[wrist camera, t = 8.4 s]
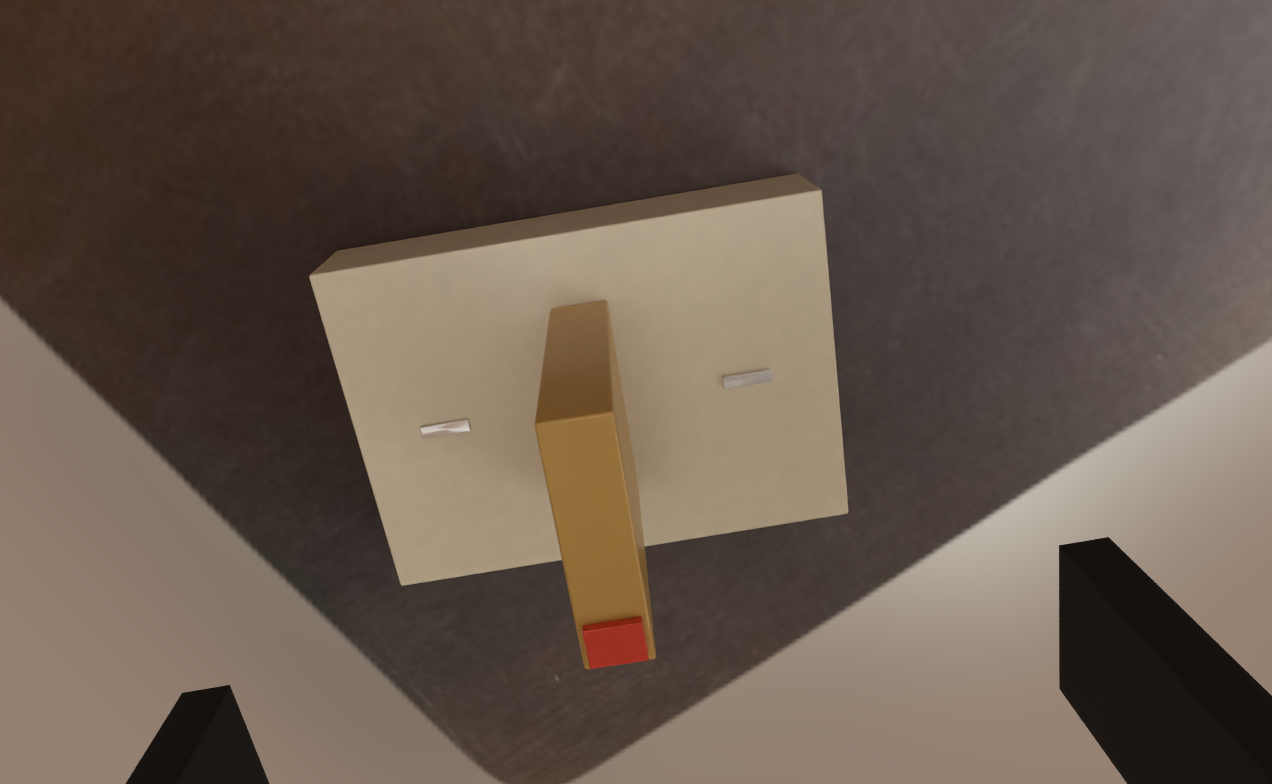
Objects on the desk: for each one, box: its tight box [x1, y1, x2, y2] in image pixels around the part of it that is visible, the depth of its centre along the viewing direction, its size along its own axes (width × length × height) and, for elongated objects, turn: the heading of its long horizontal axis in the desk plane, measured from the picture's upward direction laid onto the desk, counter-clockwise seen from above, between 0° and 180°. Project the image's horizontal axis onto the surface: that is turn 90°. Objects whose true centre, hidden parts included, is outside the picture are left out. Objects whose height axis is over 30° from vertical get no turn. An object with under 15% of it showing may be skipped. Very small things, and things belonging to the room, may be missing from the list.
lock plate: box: [309, 174, 848, 586], centre depth 28 cm, size 14×10×3 cm
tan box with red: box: [534, 300, 656, 669], centre depth 23 cm, size 6×2×8 cm, turn 8°
